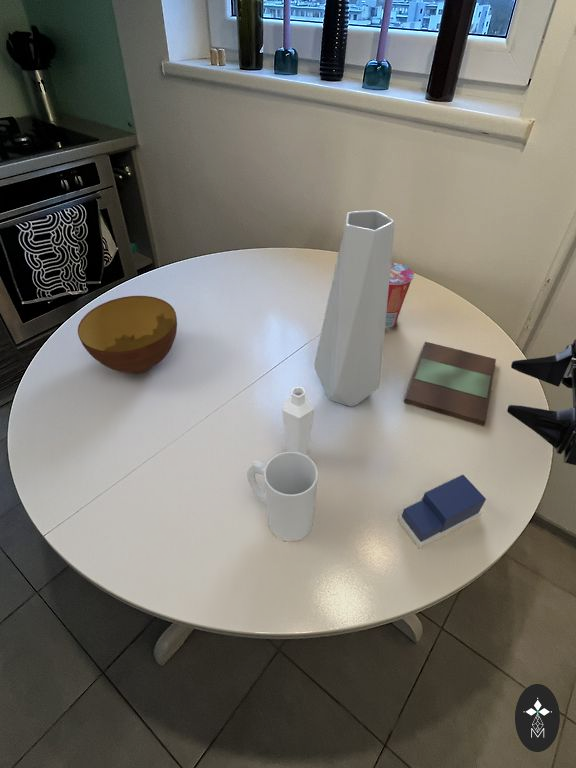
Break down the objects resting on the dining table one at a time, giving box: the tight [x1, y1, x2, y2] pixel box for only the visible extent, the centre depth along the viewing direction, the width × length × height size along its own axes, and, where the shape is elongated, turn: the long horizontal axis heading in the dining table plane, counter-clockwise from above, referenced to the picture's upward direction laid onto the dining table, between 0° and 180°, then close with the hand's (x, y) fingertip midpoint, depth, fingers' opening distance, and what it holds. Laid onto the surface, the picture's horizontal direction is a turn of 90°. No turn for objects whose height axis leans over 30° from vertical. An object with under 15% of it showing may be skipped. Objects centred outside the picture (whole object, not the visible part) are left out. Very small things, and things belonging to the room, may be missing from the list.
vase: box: [313, 209, 395, 407], centre depth 73 cm, size 12×12×33 cm
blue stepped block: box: [397, 474, 487, 549], centre depth 64 cm, size 11×5×5 cm, turn 116°
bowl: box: [77, 295, 178, 374], centre depth 87 cm, size 18×18×10 cm
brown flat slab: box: [403, 341, 497, 427], centre depth 86 cm, size 14×18×1 cm
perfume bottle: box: [281, 386, 315, 457], centre depth 68 cm, size 5×4×15 cm
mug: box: [246, 451, 319, 543], centre depth 61 cm, size 10×7×12 cm, turn 62°
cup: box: [385, 262, 415, 329], centre depth 96 cm, size 9×8×12 cm
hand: (509, 385), depth 62 cm, fingers open, 9 cm apart
